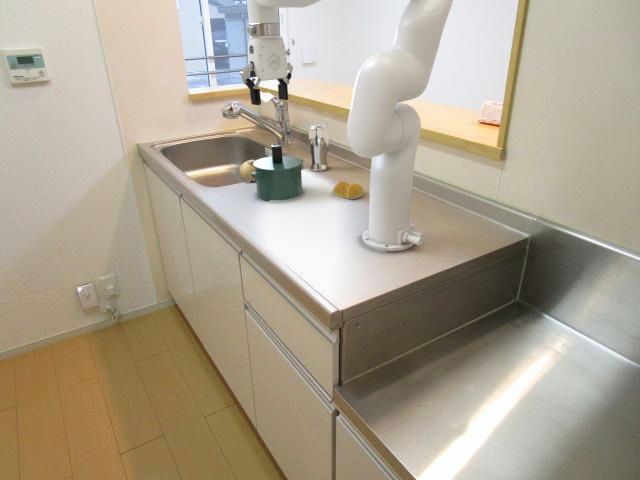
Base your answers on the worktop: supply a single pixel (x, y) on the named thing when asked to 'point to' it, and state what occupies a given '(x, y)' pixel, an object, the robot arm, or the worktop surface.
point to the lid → (277, 161)
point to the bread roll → (348, 190)
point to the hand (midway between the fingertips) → (270, 102)
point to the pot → (278, 184)
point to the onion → (247, 170)
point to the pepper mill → (319, 146)
